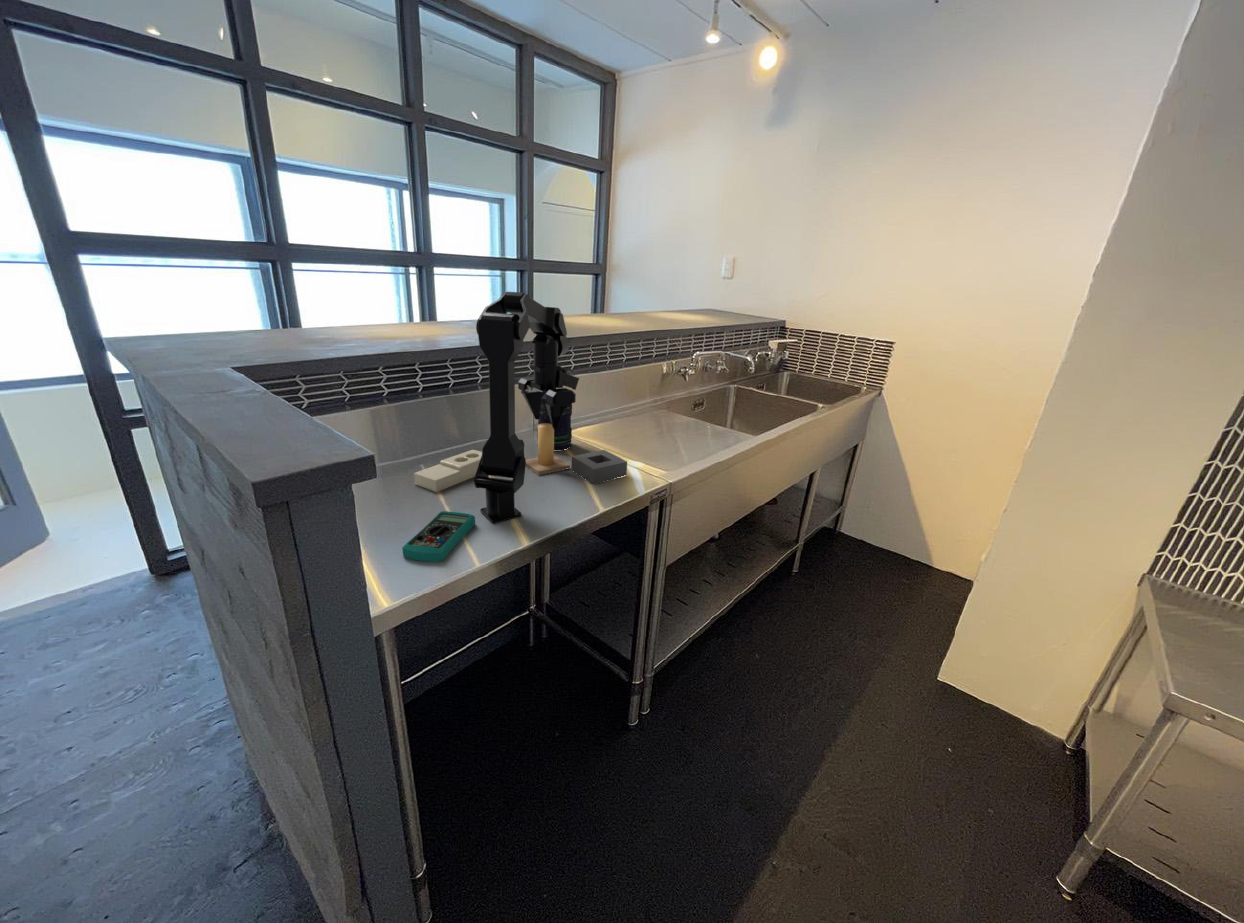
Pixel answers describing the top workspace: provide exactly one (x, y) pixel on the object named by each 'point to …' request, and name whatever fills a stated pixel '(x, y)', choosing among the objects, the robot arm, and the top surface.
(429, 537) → the digital multimeter
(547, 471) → the tan square tile
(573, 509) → the top surface
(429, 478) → the electrical outlet
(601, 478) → the socket block
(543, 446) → the amber plug
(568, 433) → the storage jar
